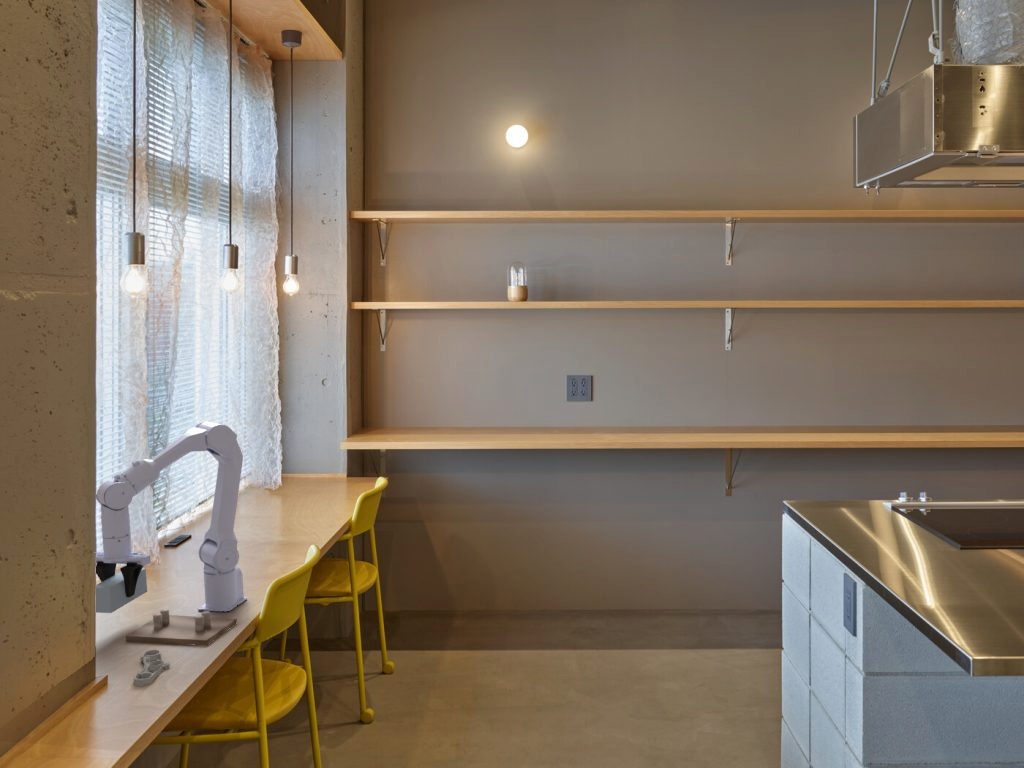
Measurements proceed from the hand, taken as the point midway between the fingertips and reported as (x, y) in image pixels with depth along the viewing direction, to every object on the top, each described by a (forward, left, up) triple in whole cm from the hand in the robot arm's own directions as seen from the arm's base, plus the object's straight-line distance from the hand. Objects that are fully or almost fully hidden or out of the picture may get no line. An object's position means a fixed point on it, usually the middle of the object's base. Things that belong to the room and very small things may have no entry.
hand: (120, 595), depth 202 cm
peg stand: (-1, +14, -8) cm, 16 cm away
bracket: (+19, +19, -9) cm, 28 cm away
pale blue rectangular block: (0, 0, -1) cm, 1 cm away
